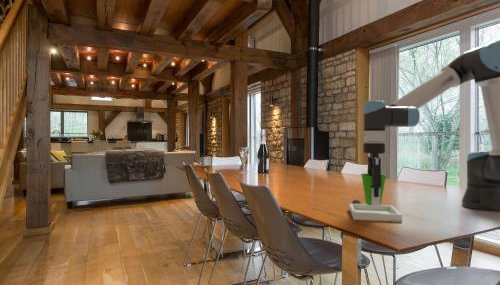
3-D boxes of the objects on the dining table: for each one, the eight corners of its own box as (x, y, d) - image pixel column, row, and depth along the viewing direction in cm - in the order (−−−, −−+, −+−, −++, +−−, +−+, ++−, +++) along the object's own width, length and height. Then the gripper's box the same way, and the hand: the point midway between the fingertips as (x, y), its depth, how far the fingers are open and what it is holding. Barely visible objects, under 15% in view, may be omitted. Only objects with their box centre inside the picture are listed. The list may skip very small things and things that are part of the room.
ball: (360, 207, 134) (360, 199, 134) (361, 209, 131) (361, 200, 131) (351, 207, 135) (351, 198, 135) (352, 209, 132) (352, 200, 131)
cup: (382, 202, 125) (382, 173, 125) (389, 207, 116) (390, 176, 116) (358, 201, 126) (358, 173, 126) (363, 206, 117) (364, 176, 117)
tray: (392, 211, 127) (392, 205, 127) (402, 222, 112) (402, 214, 112) (349, 209, 131) (349, 203, 131) (353, 219, 115) (353, 212, 115)
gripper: (360, 142, 132) (359, 197, 132) (367, 143, 111) (366, 208, 111) (379, 142, 130) (379, 198, 131) (391, 143, 109) (390, 210, 110)
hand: (373, 203), depth 121 cm, fingers closed on cup, 9 cm apart
